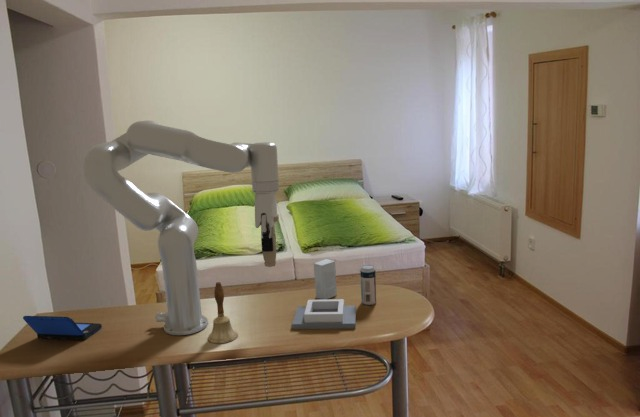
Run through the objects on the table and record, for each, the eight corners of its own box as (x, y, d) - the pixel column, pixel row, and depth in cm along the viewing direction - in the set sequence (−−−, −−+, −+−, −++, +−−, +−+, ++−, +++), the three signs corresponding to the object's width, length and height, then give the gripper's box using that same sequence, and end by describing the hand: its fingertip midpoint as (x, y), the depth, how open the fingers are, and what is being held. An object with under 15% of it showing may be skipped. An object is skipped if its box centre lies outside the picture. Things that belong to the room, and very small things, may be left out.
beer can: (379, 303, 161) (378, 266, 159) (367, 307, 159) (366, 270, 156) (369, 298, 165) (368, 263, 163) (358, 302, 163) (356, 266, 160)
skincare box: (328, 292, 173) (326, 258, 170) (337, 295, 169) (335, 261, 167) (315, 297, 169) (313, 263, 166) (323, 300, 166) (322, 265, 163)
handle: (280, 268, 147) (277, 217, 144) (258, 268, 147) (254, 217, 144) (282, 262, 152) (279, 213, 148) (260, 263, 152) (257, 214, 149)
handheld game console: (104, 327, 154) (100, 299, 152) (75, 348, 141) (70, 317, 139) (58, 325, 157) (54, 297, 155) (26, 346, 144) (20, 315, 142)
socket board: (292, 329, 146) (291, 316, 145) (297, 310, 159) (297, 298, 158) (355, 328, 144) (354, 315, 143) (356, 310, 157) (355, 297, 156)
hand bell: (206, 333, 146) (201, 280, 143) (235, 328, 148) (230, 276, 145) (209, 346, 138) (204, 290, 135) (240, 340, 141) (235, 285, 137)
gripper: (258, 182, 153) (261, 241, 157) (245, 192, 137) (250, 257, 140) (283, 181, 152) (286, 241, 156) (273, 191, 136) (277, 257, 140)
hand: (269, 248), depth 148 cm, fingers closed on handle, 3 cm apart
